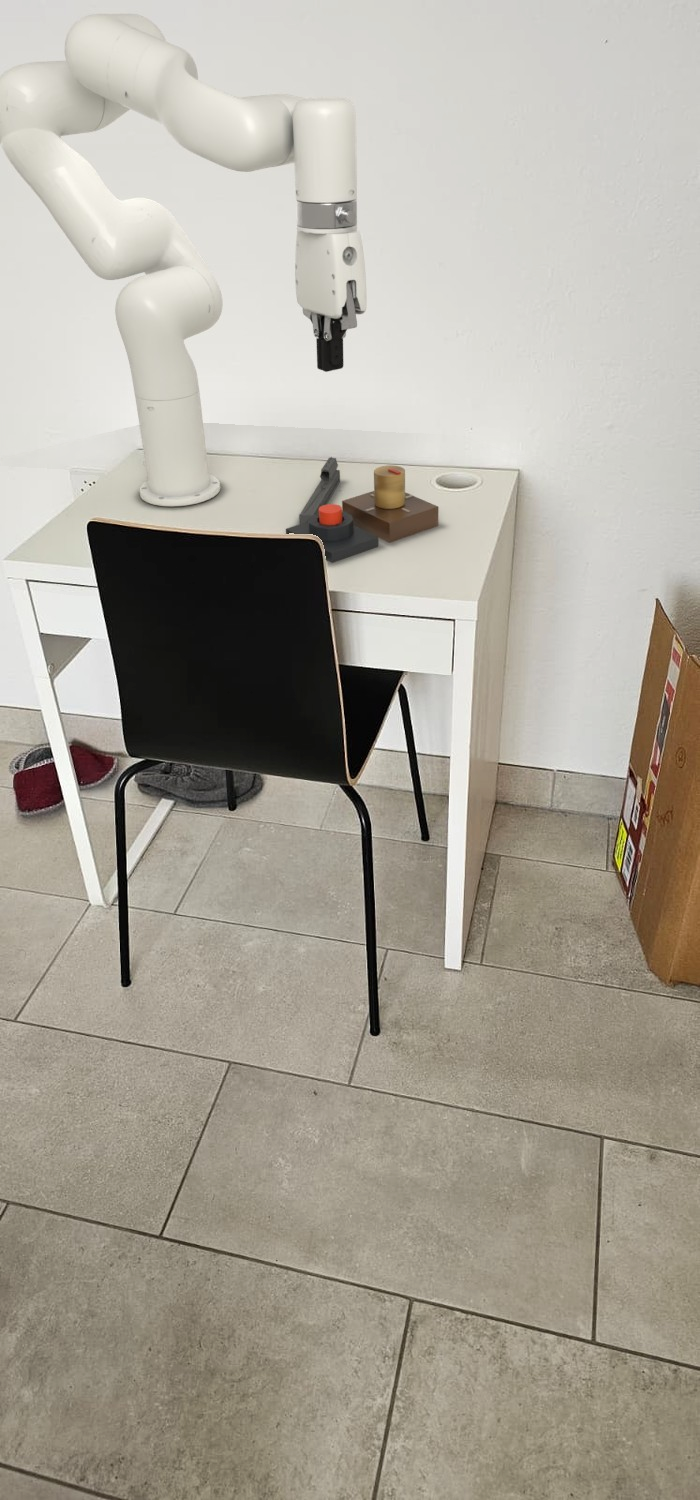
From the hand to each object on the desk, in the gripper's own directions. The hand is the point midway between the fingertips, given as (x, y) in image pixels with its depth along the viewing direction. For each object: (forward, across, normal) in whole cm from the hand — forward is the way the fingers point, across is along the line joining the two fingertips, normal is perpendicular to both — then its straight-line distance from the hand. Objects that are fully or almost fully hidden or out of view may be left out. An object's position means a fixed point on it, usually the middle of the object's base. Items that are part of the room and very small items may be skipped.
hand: (330, 368), depth 136 cm
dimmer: (+22, -6, -6) cm, 23 cm away
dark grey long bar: (+22, +6, -2) cm, 23 cm away
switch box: (+22, -6, +5) cm, 23 cm away
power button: (+18, -6, +5) cm, 20 cm away
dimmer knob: (+18, -6, -6) cm, 20 cm away
